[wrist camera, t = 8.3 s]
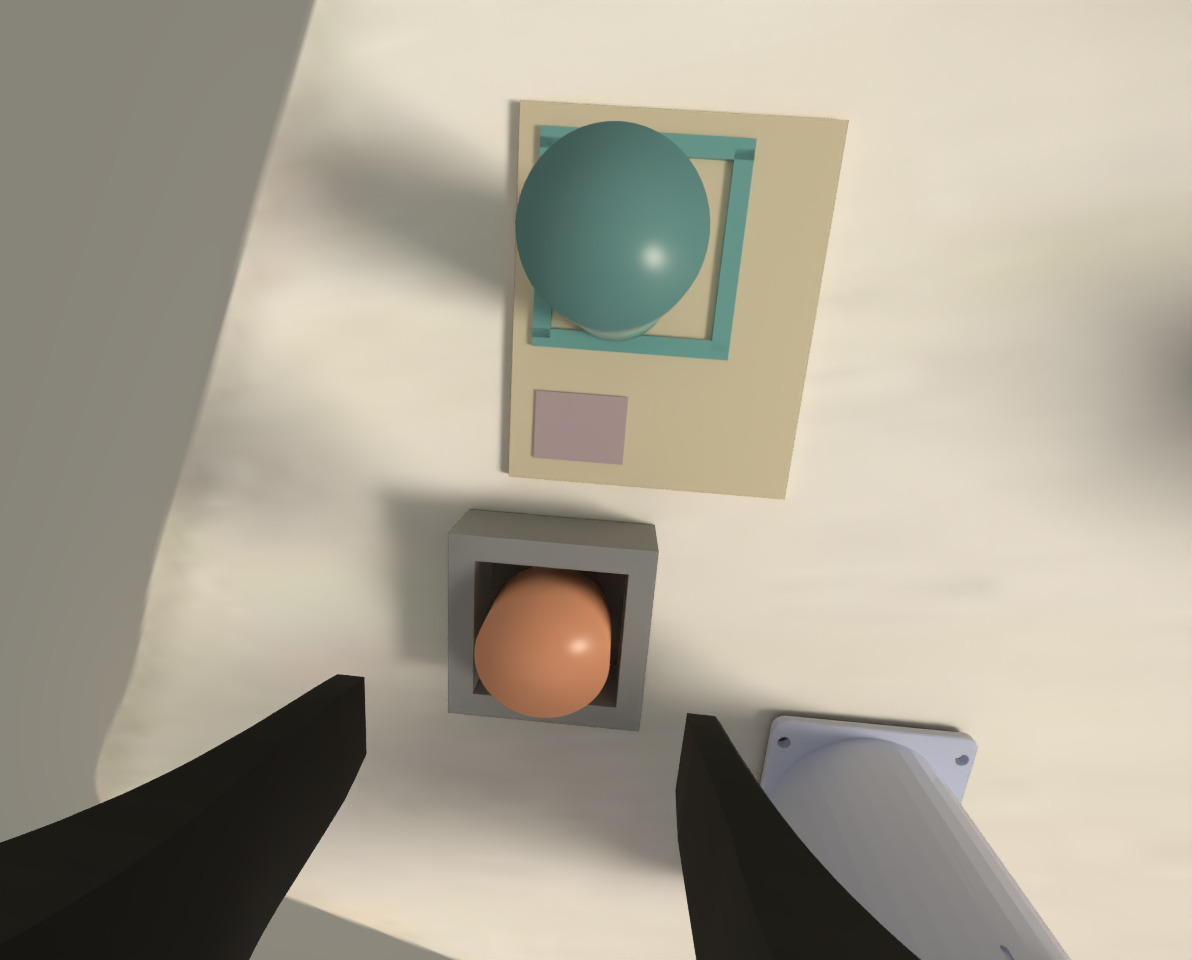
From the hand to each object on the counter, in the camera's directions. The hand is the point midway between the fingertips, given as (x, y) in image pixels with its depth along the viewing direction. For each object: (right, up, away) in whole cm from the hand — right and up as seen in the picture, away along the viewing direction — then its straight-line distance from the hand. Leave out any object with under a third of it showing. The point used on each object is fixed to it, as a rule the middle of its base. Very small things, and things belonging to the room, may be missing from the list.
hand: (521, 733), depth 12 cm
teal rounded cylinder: (+2, +12, +6) cm, 14 cm away
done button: (0, 0, +8) cm, 8 cm away
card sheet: (+4, +11, +7) cm, 13 cm away
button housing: (0, +1, +10) cm, 10 cm away
